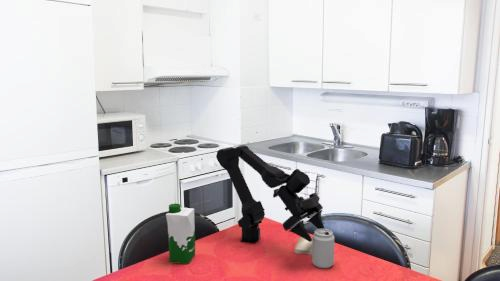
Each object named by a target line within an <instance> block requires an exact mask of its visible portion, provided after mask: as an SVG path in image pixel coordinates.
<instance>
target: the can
mask: <svg viewBox="0 0 500 281" xmlns="http://www.w3.org/2000/svg"><path fill="white" fill-rule="evenodd" d="M311 238H312V255H311V263H312V264H313V265H314V266H315V267H317V268H320V269H328V268H331V267H332V266H334V264H335V235H334V233H333V231H332V230H330V229H328V228H325V229H318V228H316V229H315V230H314V233H313V234H312V237H311Z"/></svg>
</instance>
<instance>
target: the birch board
mask: <svg viewBox="0 0 500 281" xmlns="http://www.w3.org/2000/svg"><path fill="white" fill-rule="evenodd" d="M311 239H312V237H311ZM294 253H295V254H301V255H309V256H312V241H311V242H309V241H307V240H306V239H304V238H302V237H300V236H299V237H298V240H297V243H296V245H295V247H294Z"/></svg>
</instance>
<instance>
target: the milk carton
mask: <svg viewBox="0 0 500 281" xmlns="http://www.w3.org/2000/svg"><path fill="white" fill-rule="evenodd" d="M165 218H166V222H167V234H168V235H167V237H168V238H167V240H168V255H169V256H168V258H169V263H173V264H174V263H175V264H185V265H188V264H190V262H191V261H192V260H193V258H194V257H195V256H196V233H195V232H196V231H195V230H196V228H195V227H196V226H195V208H191V207H190V208H188V207H181V204H180V203H170V204H169V205H168V211H167V213H166V214H165Z"/></svg>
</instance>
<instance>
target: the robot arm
mask: <svg viewBox="0 0 500 281" xmlns="http://www.w3.org/2000/svg"><path fill="white" fill-rule="evenodd" d="M215 157H216V160H217V162H218V164H219V165H220V166H221V167H222V168H223V169H224V170H226V171H227V174H228V176H229V179H230V180H231V182H232V185H233V187H234V190H235V192H236V193H237V194H236V195H237V196H238V198H239V200H240V203H241V211H240V212H241V214H242V217H241V218H240V219H238V221H237V223H238V224H237V225H238V227H239V228H241V239H240V242H241V243H249V244H257V243H258V242H259V240H260V239H261V228H260V224H262V221H263V220H264V219H265V216H266V214H265V213H266V212H265V208H264V206H263V204H262V202H261V201H260V200H258V201H257V200H256V199H254V196H253V195H252V193H251V191H250V188H249V187H248V184H247V182H246V180H245V177H244V174H243V173H242V169H241V168H240V159H241V160H242V161H244V163H246V164H247V165H248V166H249V167H251V168H252V169H253V170H254V171H255V172H257V173H258V174H259V175H260V177H261V180H262V182H263V183H264V184H265V185H266V186H267V187H268V188H271V189H273V195H272V198H274V199H275V198H277V197H278V198H279V199H280V200H281V201H282V202H283V204H284V205H285V207H284V210H285V211H289V213H290V214H291V216H289V218H287V219H286V220H285V221H284V222H282V228H283V229H284V231H285V232H289V233H293V234H295V235H297V236H299V237H302V238H304V239H306V240H307V241H309V242H311V241H312V239H311V238H312V237H311V234H310V233H309V232H308V230H307V229H306V227H305V226H304V224H305V223H304V221H305V220H304V219H306V218H307V219H308V222H310V223H311V224H312V225H313V226H315V228H316V229H326V227H325V226H324V222H323V219H322V213H323V208H324V207H323V206H322V204H321V203H320V202H319V201H320V197H319V196H318V194H317V193H316V192H313V193H311V194H309V195H308V197H307V198H304V197H303V196H298V194H299V193H301V192H302V191H303V190H304V189H305V188H307V186H308V185H309V184H310V183H311V179H310V177H309V175H308V174H307V173H305V172H303V171H301V170H300V169H299V168H297V169H293V171H292V173H290V174H288V173H285V172H286V171H284V170H283V169H281V168H278V167H277V166H273V165H270V164H268V163H267V162H266V161H265V160H263V159H262V158H261V157H260V156H259V155H257V154H256V153H254V151H252V150H251V149H250V148H249V147H248V146H247V145H245V144H244V145H243V144H242V145H240V146H237V147H233V146H230V147H223V148H219V149H218V150H217V152H216V156H215ZM277 187H278V188H277ZM274 188H276V189H274Z"/></svg>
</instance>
